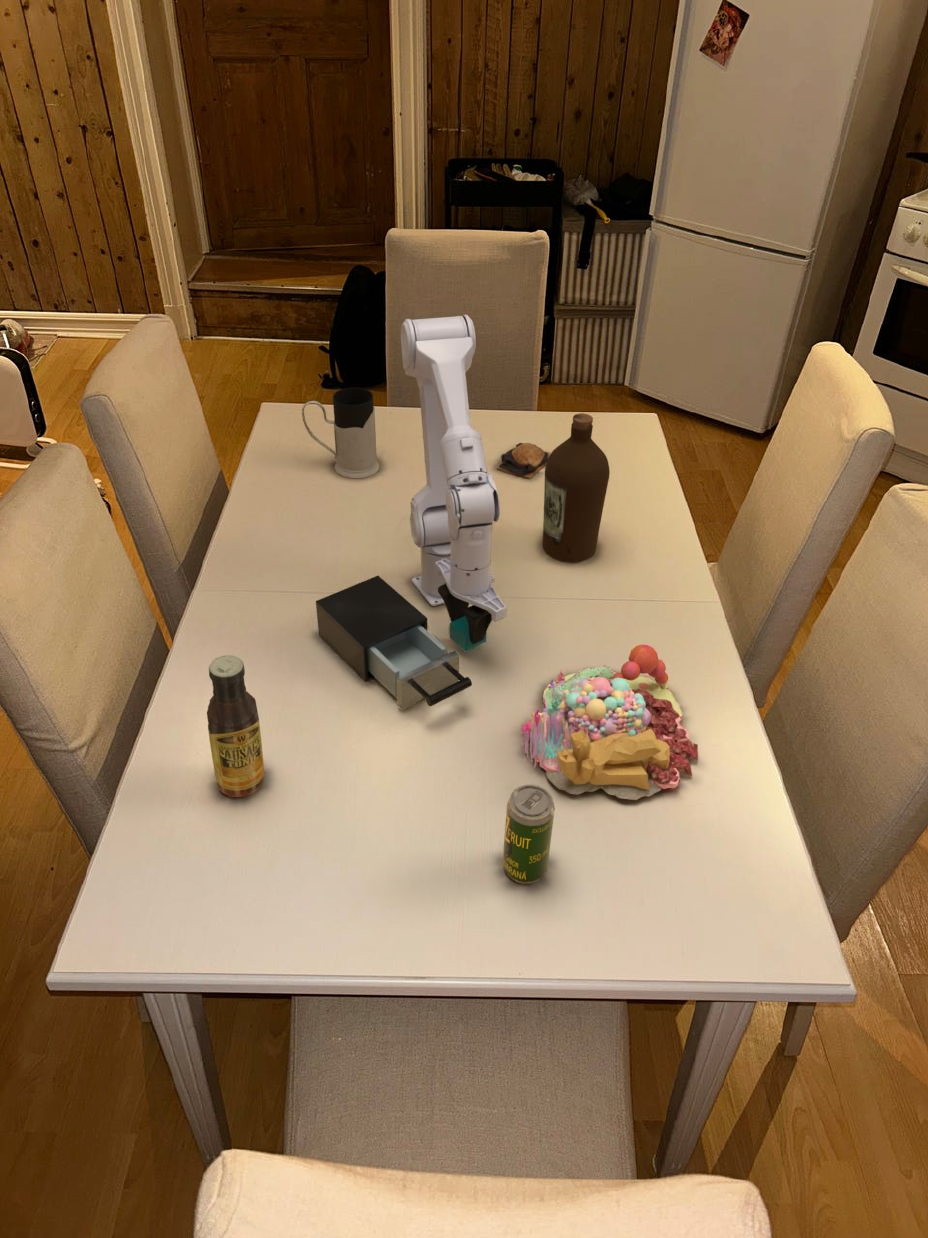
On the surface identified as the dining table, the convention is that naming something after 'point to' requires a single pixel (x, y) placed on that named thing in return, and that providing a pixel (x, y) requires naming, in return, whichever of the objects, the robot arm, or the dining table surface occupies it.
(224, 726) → the sauce bottle
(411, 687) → the drawer
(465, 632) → the block
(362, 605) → the black storage box
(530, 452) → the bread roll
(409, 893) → the dining table surface
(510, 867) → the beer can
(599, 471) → the olive oil
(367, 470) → the glass holder
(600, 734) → the candy landscape model
